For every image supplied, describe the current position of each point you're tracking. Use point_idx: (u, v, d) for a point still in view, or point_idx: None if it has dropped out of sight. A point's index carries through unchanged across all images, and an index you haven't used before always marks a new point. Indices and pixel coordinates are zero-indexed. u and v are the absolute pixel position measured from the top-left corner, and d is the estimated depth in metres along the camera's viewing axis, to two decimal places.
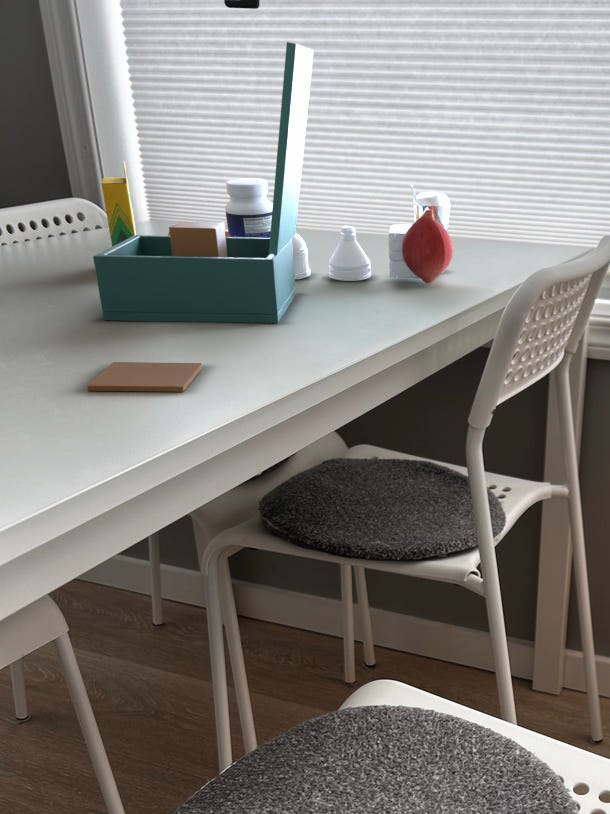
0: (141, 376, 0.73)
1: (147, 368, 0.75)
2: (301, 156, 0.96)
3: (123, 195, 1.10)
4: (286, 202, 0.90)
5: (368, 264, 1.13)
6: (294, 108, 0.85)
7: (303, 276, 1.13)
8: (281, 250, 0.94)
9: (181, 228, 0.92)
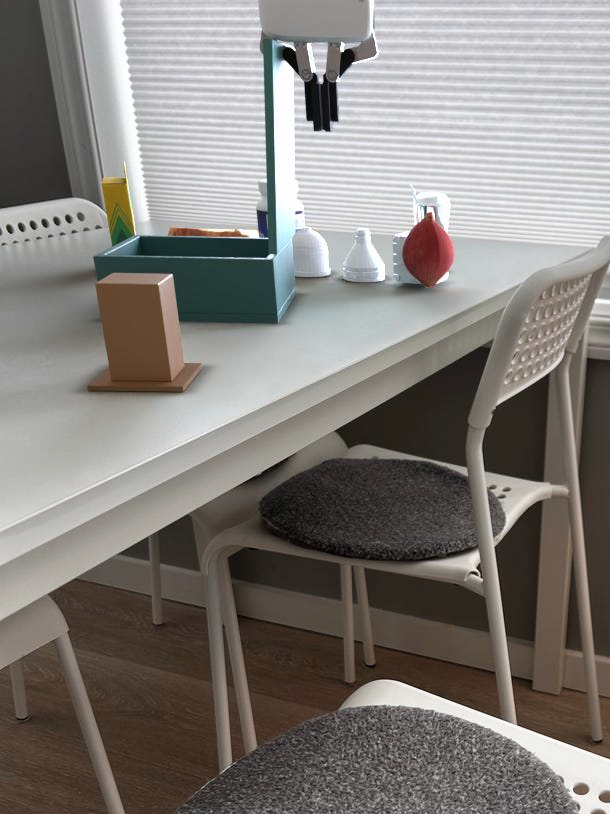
0: None
1: None
2: (292, 154, 0.96)
3: (123, 195, 1.10)
4: (281, 201, 0.90)
5: (378, 267, 1.12)
6: (278, 105, 0.85)
7: (317, 275, 1.14)
8: (281, 250, 0.94)
9: (112, 284, 0.68)
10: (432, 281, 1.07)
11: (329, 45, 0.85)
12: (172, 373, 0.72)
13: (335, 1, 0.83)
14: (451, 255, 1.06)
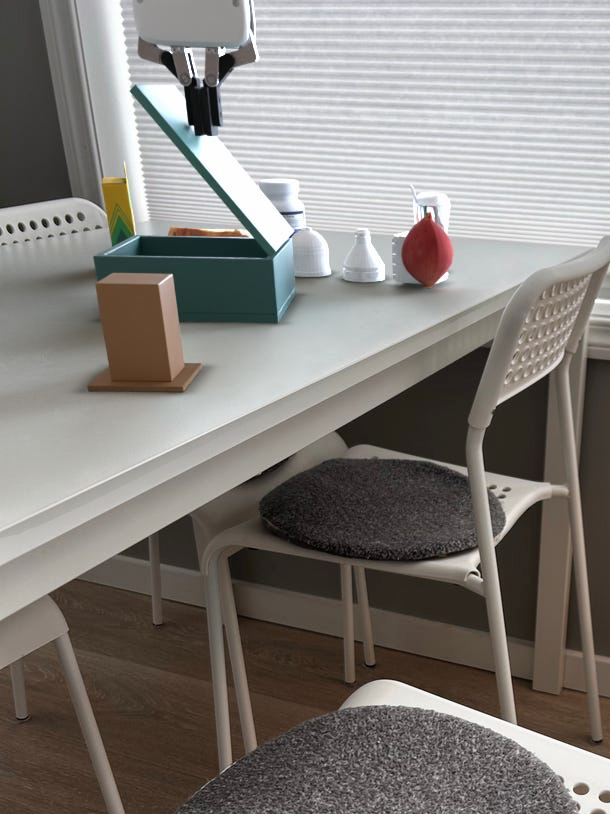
0: None
1: None
2: (239, 169, 0.96)
3: (123, 195, 1.10)
4: (249, 208, 0.90)
5: (378, 267, 1.12)
6: (185, 134, 0.86)
7: (317, 275, 1.14)
8: (281, 250, 0.94)
9: (112, 284, 0.68)
10: (431, 281, 1.07)
11: (206, 50, 0.85)
12: (172, 373, 0.72)
13: (209, 5, 0.83)
14: (450, 255, 1.05)
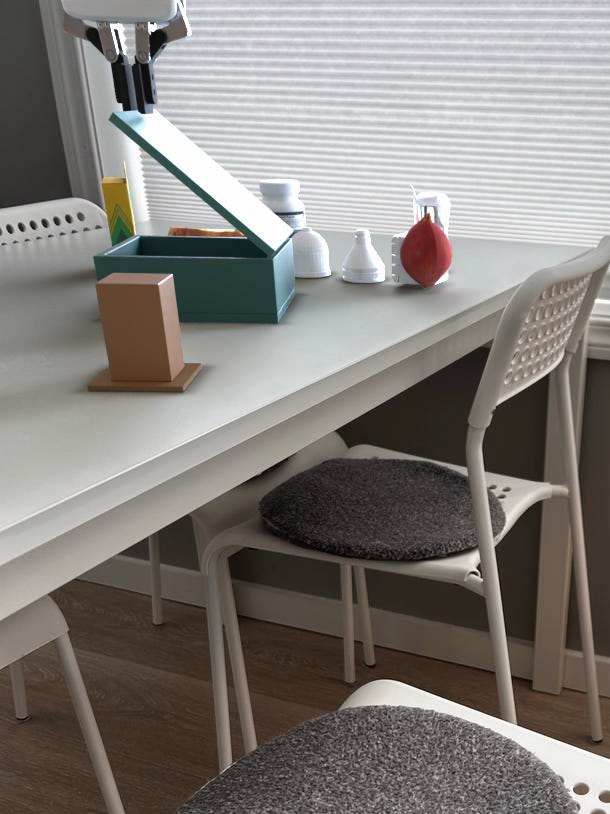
0: None
1: None
2: (230, 179, 0.97)
3: (123, 195, 1.10)
4: (243, 213, 0.90)
5: (377, 268, 1.12)
6: (170, 152, 0.87)
7: (317, 275, 1.14)
8: (281, 250, 0.94)
9: (112, 284, 0.68)
10: (430, 282, 1.06)
11: (136, 25, 0.84)
12: (172, 373, 0.72)
13: None
14: (449, 256, 1.05)
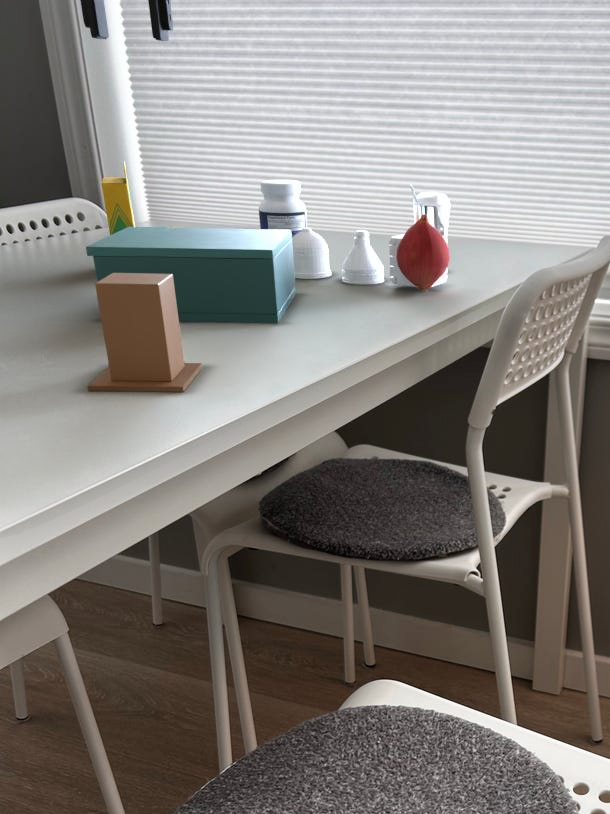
0: None
1: None
2: (215, 230, 0.99)
3: (123, 195, 1.10)
4: (233, 243, 0.91)
5: (376, 270, 1.11)
6: (148, 242, 0.90)
7: (316, 276, 1.13)
8: (281, 250, 0.94)
9: (112, 284, 0.68)
10: (426, 284, 1.05)
11: None
12: (172, 373, 0.72)
13: None
14: (445, 258, 1.04)
